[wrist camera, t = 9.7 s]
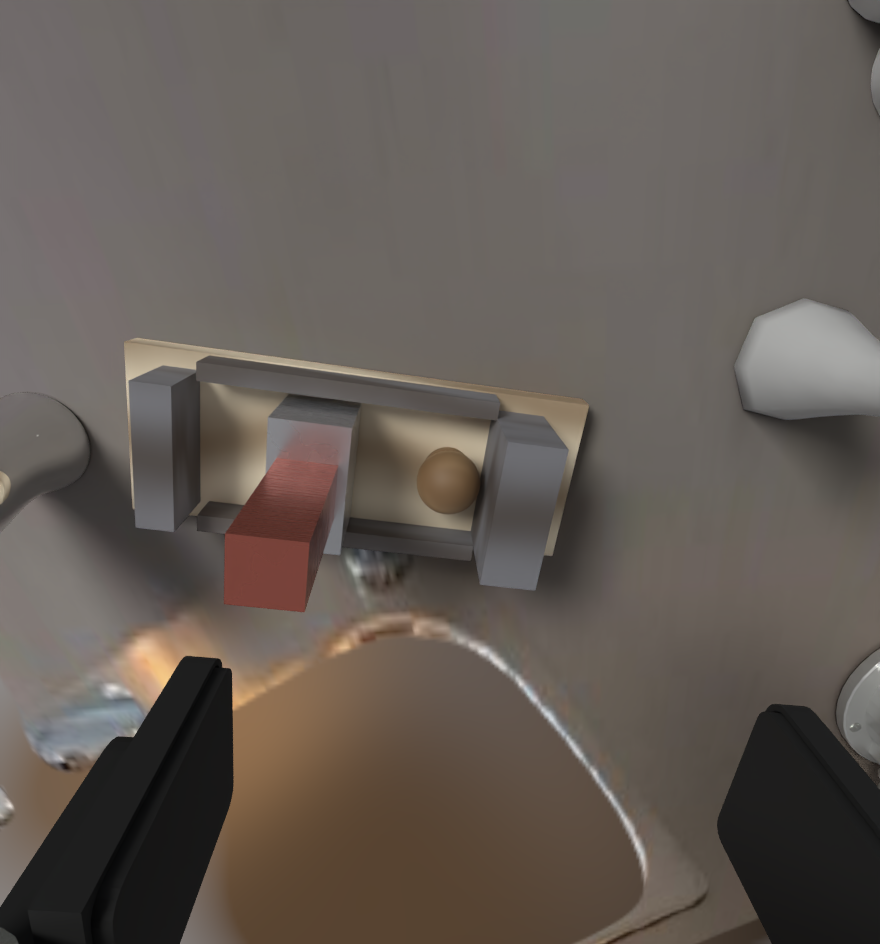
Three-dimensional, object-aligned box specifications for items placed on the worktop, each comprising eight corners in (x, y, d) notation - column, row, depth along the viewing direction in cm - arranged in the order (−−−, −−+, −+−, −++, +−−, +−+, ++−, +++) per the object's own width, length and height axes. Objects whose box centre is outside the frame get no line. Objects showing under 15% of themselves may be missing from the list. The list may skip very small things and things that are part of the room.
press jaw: (350, 514, 35) (314, 656, 23) (283, 506, 34) (210, 646, 22) (361, 402, 32) (327, 493, 20) (289, 392, 32) (210, 480, 20)
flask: (840, 414, 36) (990, 472, 26) (724, 423, 35) (833, 484, 26) (863, 292, 33) (1039, 309, 24) (738, 302, 33) (865, 323, 24)
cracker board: (547, 544, 38) (576, 611, 31) (143, 498, 36) (77, 558, 29) (582, 399, 35) (623, 436, 28) (136, 337, 32) (59, 362, 25)
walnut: (471, 500, 35) (477, 528, 31) (412, 493, 35) (412, 521, 31) (481, 444, 34) (489, 468, 30) (420, 436, 33) (421, 459, 30)
